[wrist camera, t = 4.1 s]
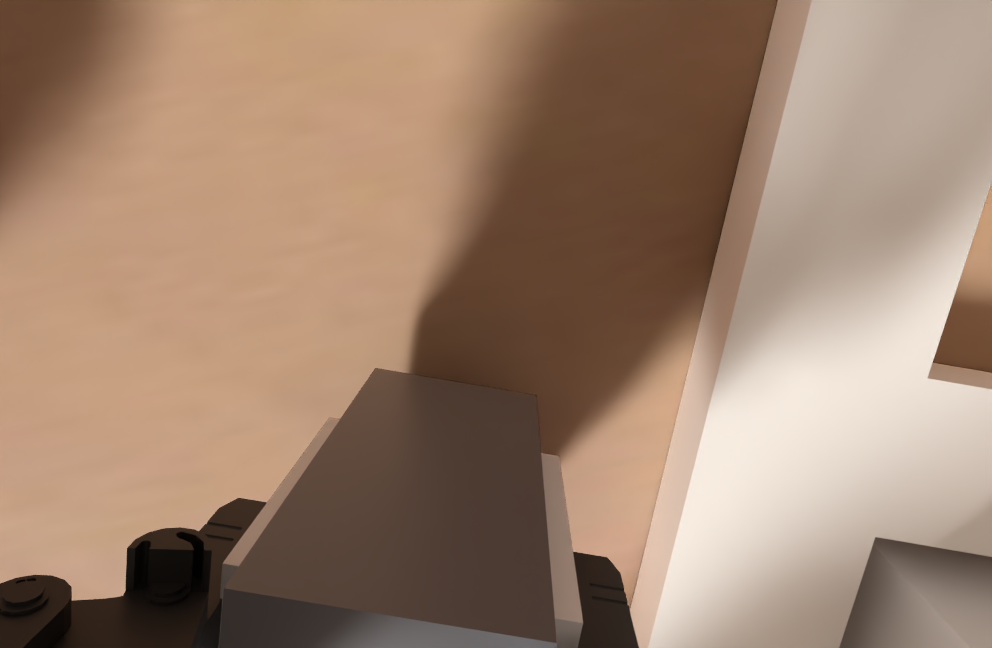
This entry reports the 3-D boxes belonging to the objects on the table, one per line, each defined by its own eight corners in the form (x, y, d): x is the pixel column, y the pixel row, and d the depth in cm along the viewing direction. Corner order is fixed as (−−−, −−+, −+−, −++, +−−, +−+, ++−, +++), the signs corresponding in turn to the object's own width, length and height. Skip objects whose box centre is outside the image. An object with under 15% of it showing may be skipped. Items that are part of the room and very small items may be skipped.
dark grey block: (375, 368, 19) (224, 588, 9) (536, 395, 19) (556, 644, 9) (356, 513, 20) (203, 848, 10) (508, 538, 20) (501, 897, 10)
